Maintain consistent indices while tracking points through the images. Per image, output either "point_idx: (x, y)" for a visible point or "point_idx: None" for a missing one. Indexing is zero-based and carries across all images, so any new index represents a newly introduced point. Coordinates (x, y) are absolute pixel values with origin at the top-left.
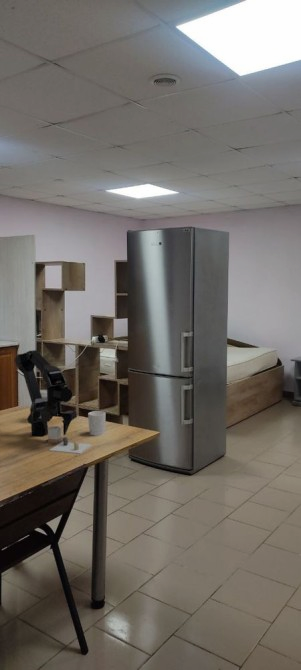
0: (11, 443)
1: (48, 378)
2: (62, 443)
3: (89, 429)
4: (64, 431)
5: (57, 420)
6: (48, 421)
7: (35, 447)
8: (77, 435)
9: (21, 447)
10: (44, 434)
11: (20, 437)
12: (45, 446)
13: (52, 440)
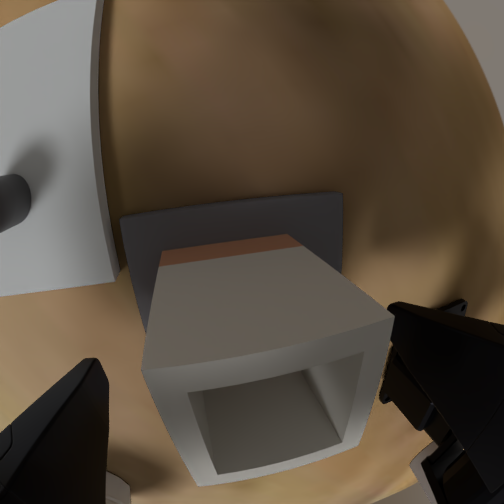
0: (495, 146)
1: None
2: (70, 231)
3: (109, 502)
4: (58, 387)
5: (387, 479)
6: (414, 458)
7: (333, 72)
8: (180, 461)
9: (425, 65)
10: (399, 360)
11: (490, 266)
12: (253, 125)
13: (235, 247)
